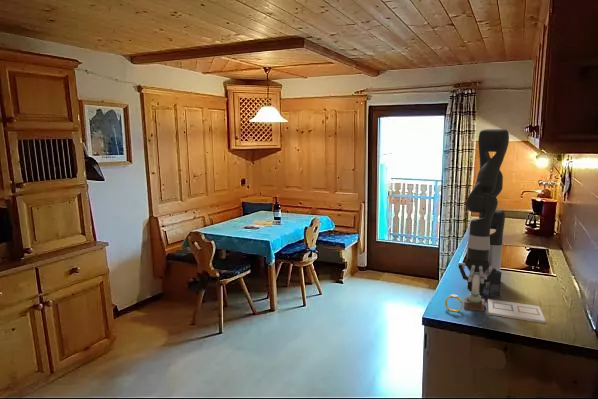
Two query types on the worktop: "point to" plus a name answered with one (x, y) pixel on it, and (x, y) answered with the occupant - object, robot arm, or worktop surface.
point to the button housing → (474, 305)
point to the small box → (492, 285)
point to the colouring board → (515, 310)
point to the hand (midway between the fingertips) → (475, 291)
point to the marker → (475, 284)
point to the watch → (453, 297)
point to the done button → (474, 298)
